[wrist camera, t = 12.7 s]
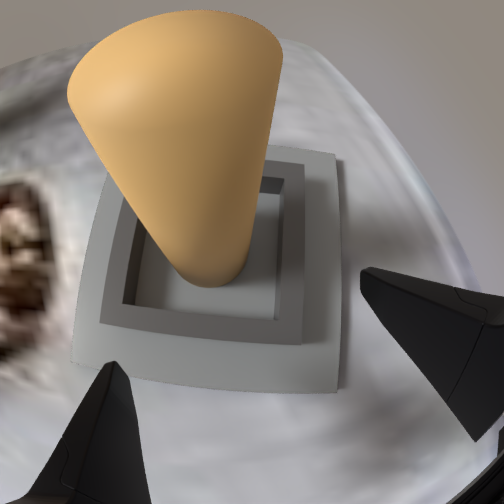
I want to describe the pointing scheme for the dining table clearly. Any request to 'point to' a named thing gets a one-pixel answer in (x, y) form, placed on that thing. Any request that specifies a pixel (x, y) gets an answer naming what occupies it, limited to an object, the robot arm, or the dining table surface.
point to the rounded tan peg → (185, 130)
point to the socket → (223, 292)
